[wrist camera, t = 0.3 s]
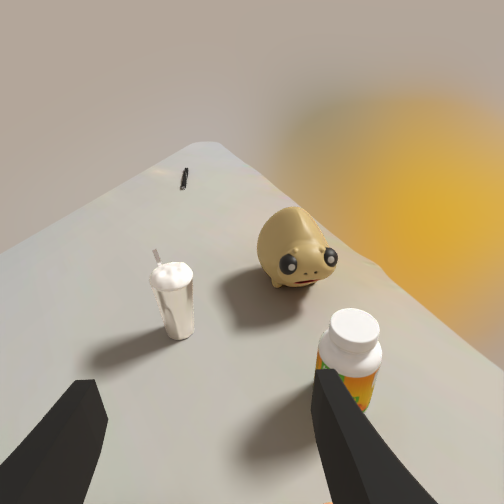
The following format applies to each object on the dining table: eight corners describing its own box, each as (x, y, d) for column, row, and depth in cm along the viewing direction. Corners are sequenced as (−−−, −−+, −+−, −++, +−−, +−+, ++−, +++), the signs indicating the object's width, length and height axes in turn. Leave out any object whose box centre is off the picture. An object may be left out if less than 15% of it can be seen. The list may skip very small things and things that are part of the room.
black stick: (185, 190, 77) (185, 186, 77) (181, 191, 77) (180, 187, 77) (188, 171, 88) (188, 167, 87) (184, 171, 87) (184, 167, 87)
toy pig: (270, 317, 44) (271, 244, 38) (251, 263, 53) (249, 198, 48) (345, 305, 45) (357, 234, 39) (313, 255, 55) (319, 191, 49)
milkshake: (183, 308, 45) (172, 242, 40) (207, 331, 42) (198, 262, 36) (151, 325, 43) (135, 257, 37) (173, 351, 39) (159, 280, 34)
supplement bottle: (306, 410, 33) (314, 337, 28) (319, 366, 37) (329, 296, 32) (364, 431, 31) (385, 358, 26) (372, 383, 35) (391, 311, 30)
